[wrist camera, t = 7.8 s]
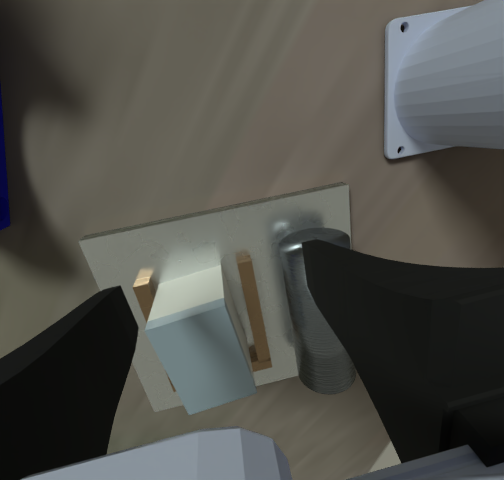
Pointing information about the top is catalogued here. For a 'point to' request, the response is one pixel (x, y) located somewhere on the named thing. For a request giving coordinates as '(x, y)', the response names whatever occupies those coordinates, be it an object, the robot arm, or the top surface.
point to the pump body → (201, 340)
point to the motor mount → (238, 282)
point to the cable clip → (3, 177)
